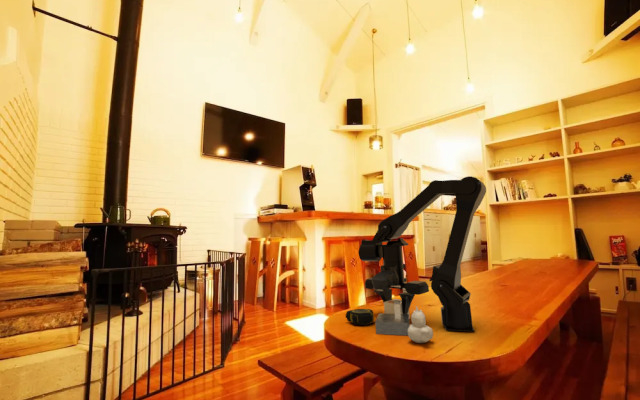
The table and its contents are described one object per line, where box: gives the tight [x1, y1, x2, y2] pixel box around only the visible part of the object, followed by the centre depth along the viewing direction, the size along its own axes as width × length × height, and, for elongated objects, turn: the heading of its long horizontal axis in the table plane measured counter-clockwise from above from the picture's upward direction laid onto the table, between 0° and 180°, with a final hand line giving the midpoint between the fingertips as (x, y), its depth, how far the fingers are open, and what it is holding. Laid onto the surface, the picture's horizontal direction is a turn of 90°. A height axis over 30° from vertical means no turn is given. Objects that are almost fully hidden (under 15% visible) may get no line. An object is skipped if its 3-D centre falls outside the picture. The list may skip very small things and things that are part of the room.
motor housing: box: [375, 302, 411, 337], centre depth 74 cm, size 8×8×7 cm
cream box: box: [383, 298, 411, 320], centre depth 83 cm, size 6×5×5 cm
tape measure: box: [345, 308, 375, 326], centre depth 81 cm, size 7×7×4 cm
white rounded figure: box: [407, 305, 434, 344], centre depth 64 cm, size 5×7×8 cm
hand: (397, 315), depth 83 cm, fingers closed on cream box, 5 cm apart
